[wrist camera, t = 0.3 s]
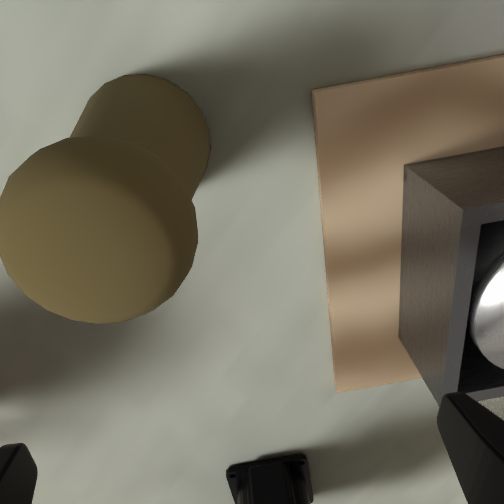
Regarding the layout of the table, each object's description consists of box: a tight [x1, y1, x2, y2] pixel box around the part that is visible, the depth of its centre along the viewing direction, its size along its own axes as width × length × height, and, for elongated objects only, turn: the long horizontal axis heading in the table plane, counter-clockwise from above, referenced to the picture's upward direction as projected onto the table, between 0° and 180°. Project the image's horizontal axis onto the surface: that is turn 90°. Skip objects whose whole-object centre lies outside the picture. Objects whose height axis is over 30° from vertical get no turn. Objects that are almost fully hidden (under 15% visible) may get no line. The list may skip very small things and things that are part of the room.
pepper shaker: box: [0, 74, 211, 324], centre depth 15 cm, size 6×6×11 cm
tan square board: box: [311, 54, 504, 393], centre depth 24 cm, size 20×20×1 cm
